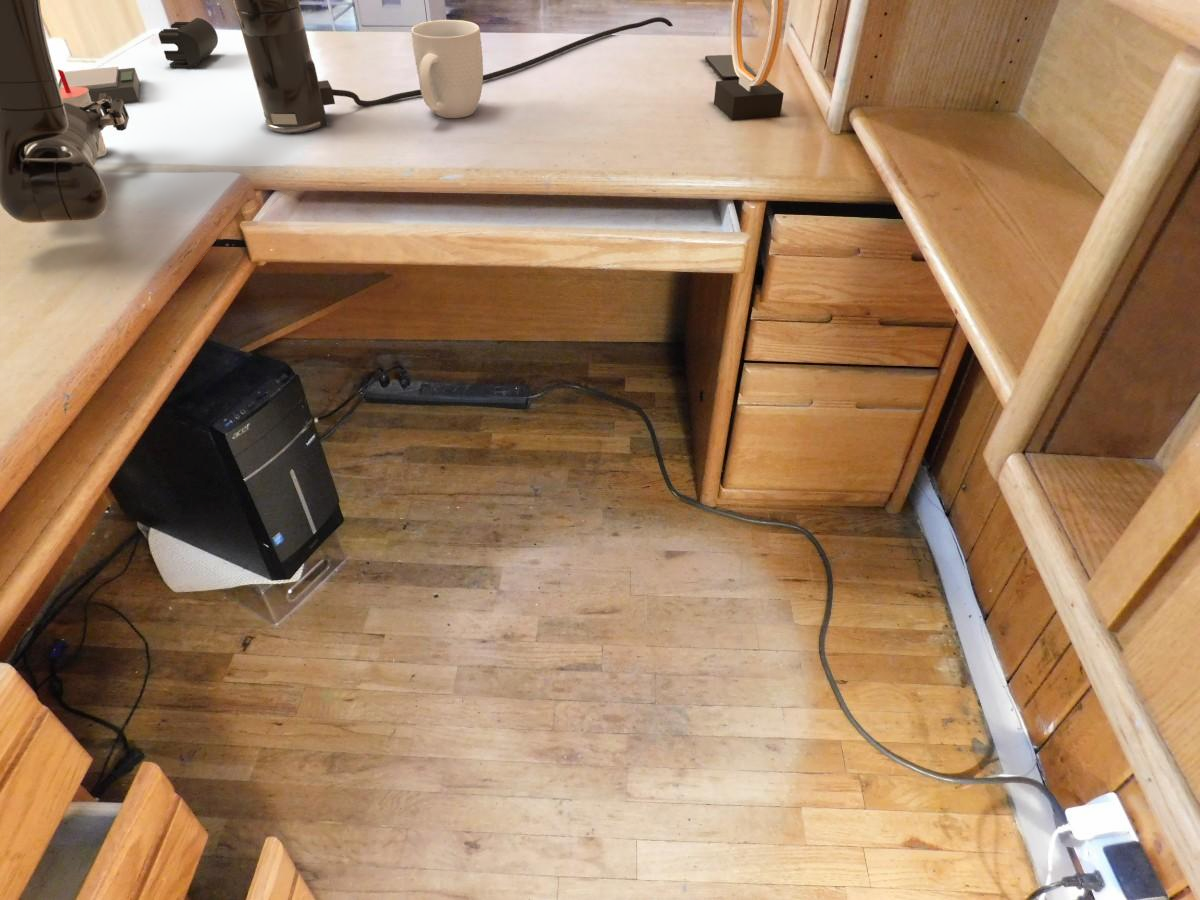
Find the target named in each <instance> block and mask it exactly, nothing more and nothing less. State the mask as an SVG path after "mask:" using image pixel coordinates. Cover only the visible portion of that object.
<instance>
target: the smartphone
mask: <svg viewBox="0 0 1200 900" xmlns="http://www.w3.org/2000/svg"><path fill="white" fill-rule="evenodd" d="M704 60H705V61H706V63H708V65H709V66H710V67H711V68H712V70H713V71H714V72H715V73H716V75H717V76H718V77H719V78H720V80H721V81H726V80H739V77H738V76H737V75H736V73H735V70H734V66H733V59H732V54H717V55H716V54H715V55H714V54H713V55H712V54H711V55H705V56H704ZM743 62H744V67H745V69H746V70H747V71H748V72H749V73H750V74H752V75H753V76H754V77H756V75H757V73H755V72H754V70H753V69H752V68H751V67H750V66H749V65H748V64H747V63H746V62H745V61H744V60H743Z"/></svg>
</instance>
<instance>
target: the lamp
mask: <svg viewBox="0 0 1200 900" xmlns="http://www.w3.org/2000/svg"><path fill="white" fill-rule="evenodd" d="M744 2H745V0H732V6H731V16H730V17H731V18H730V46H731V55H732V59H733V66H734V70H735V73H736V75H737V76H738V77H739V80H726V81H723V80H716V81H715V87H714V97H713V99H714V100H713V104H714V105H715V107H717V109H719V110H720V111H721V112H722V113H723V114H724V115H726V116H727V118H729V119H730V120H731V121H739V120H749V119H752V120H753V119H765V118H774V117H776V118H777V117H781V113H782V106H783V100H784V94H785V93H784V92H783V91H781V90H780V89H779V88H777V87H776V86H775V85H773V84H772V83H771V82H769V81H768V80H767V78H768V77H769V75H770V72H771V71H772V68H773V65H774V62H775V60H776V56H777V53H778V48H779V44H780V39H781V33H782V28H783V27H782V26H783V18H784V0H771V11H770V24H769V32H768V38H767V43H766V48H765V51H764V55H763V58H762V61H761V64H760V66H759V69H758V70H757V73H756V77H754V76H753V75H752V74H750V73H749V72H748V71H747V70H746V69H745V67H744V62H745V61H744V56H743V41H742V40H743V39H742V37H743V36H742V25H743V24H742V23H743V8H744ZM743 61H744V62H743Z"/></svg>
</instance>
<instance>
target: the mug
mask: <svg viewBox="0 0 1200 900" xmlns="http://www.w3.org/2000/svg"><path fill="white" fill-rule="evenodd" d="M410 29H411V40H412V47H413V55H414V61H415V66H416V72H417V76H418V83H419V84H418V85H419V90H421V94H422V95H421V97H422V100H423V102H424V103H425V105H426V106H427V107H428V108H429V109H431V110H432V111H433V112H434V113H435V114H436V115H437V116H439V117H441V118H445V119H462V118H467V117H469V116H472V115H473V114H474V113H475V112H476V109H477V108H478V105H479V103H480V99H481V96H482V92H483V91H482V90H483V85H484V81H483V75H484V64H483V63H484V59H483V58H484V57H483V47H482V40H481V39H482V38H481V29H480V26H479V25H478V24H476V23H474V22H473V21H467V20H463V19H462V20H460V19H437V20H430V21H429V20H428V21H424V22H420V23H418V24H415V25H414V26H412V27H411V28H410Z"/></svg>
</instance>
